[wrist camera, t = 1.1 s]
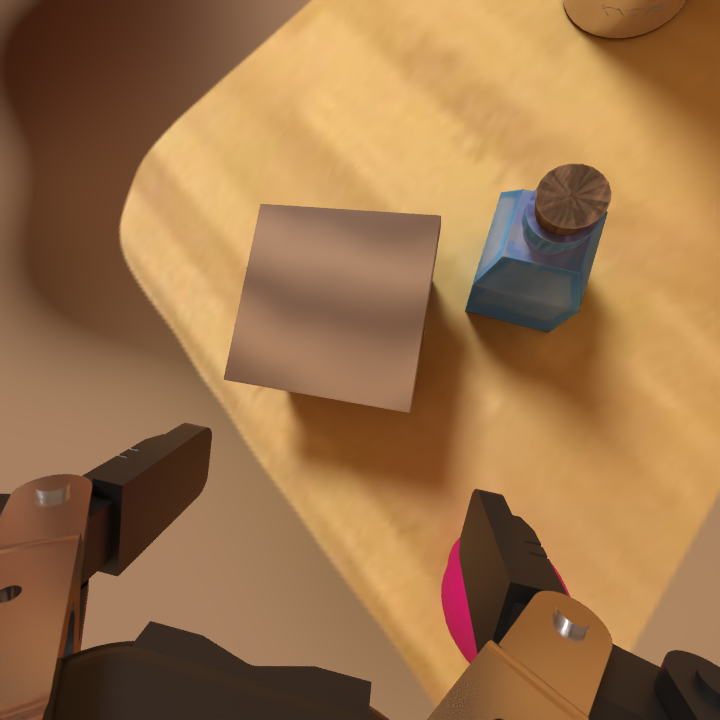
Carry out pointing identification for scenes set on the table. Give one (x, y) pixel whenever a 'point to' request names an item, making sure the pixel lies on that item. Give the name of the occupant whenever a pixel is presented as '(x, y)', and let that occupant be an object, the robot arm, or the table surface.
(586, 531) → the table surface
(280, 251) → the brown legged piece
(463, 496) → the table surface
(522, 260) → the perfume bottle
